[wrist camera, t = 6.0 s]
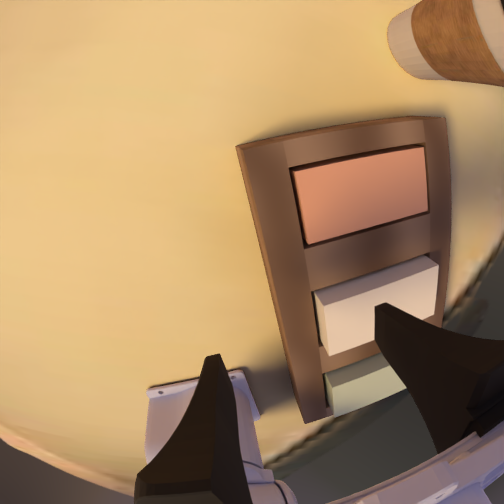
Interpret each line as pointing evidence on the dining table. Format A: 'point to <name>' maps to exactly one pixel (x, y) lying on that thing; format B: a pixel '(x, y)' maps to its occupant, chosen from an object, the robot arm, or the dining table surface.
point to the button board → (339, 237)
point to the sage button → (360, 384)
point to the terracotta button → (359, 191)
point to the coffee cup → (451, 40)
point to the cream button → (373, 301)
